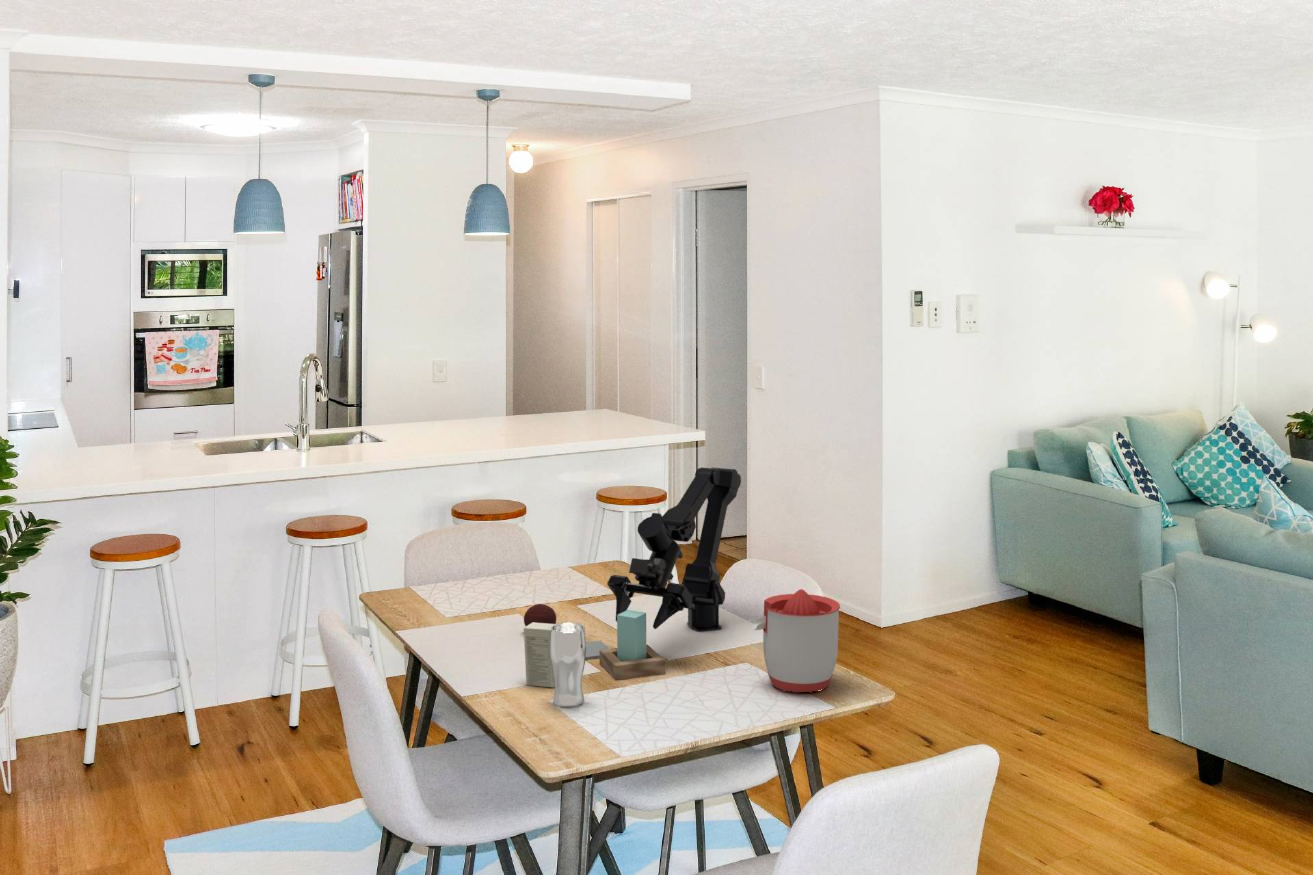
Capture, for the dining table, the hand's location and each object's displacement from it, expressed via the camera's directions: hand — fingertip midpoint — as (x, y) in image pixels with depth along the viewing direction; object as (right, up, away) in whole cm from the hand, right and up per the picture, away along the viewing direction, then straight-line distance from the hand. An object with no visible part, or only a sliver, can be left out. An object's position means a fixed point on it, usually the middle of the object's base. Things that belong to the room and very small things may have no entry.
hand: (635, 624), depth 235 cm
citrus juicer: (+33, -11, -10) cm, 36 cm away
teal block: (-1, -9, 0) cm, 9 cm away
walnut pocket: (-1, -9, 0) cm, 9 cm away
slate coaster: (-11, -8, +11) cm, 17 cm away
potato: (-23, -6, +25) cm, 34 cm away
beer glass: (-13, -12, -19) cm, 26 cm away
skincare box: (-19, -11, -9) cm, 23 cm away
